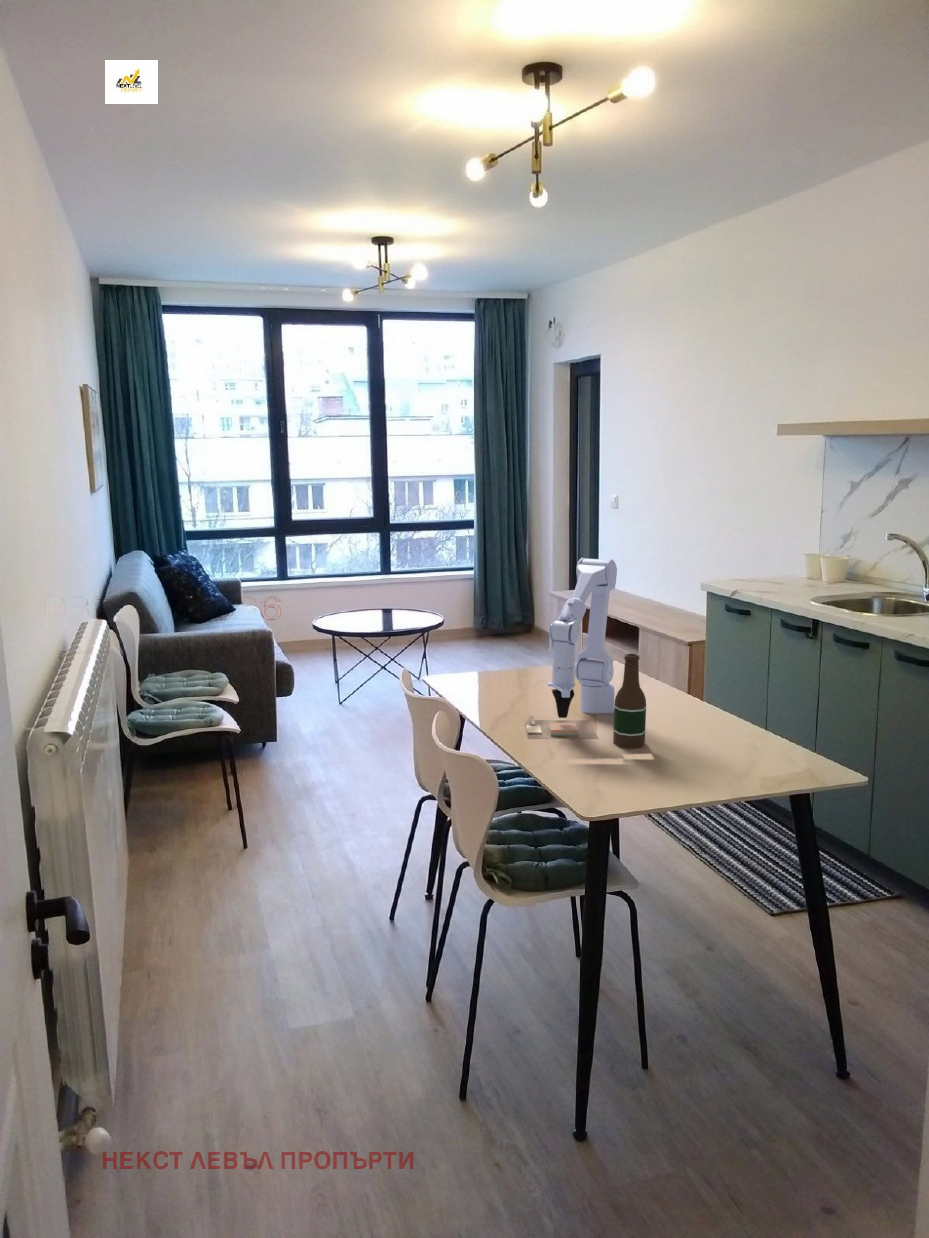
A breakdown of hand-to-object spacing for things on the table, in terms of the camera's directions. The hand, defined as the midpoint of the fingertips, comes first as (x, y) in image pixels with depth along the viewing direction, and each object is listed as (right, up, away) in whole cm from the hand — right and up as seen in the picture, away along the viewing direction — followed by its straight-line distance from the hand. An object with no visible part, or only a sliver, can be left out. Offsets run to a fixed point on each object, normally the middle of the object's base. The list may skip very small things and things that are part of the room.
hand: (562, 717), depth 234 cm
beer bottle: (+15, -7, -11) cm, 20 cm away
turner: (-7, -3, +4) cm, 9 cm away
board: (-1, -4, +1) cm, 5 cm away
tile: (0, -2, +1) cm, 3 cm away
